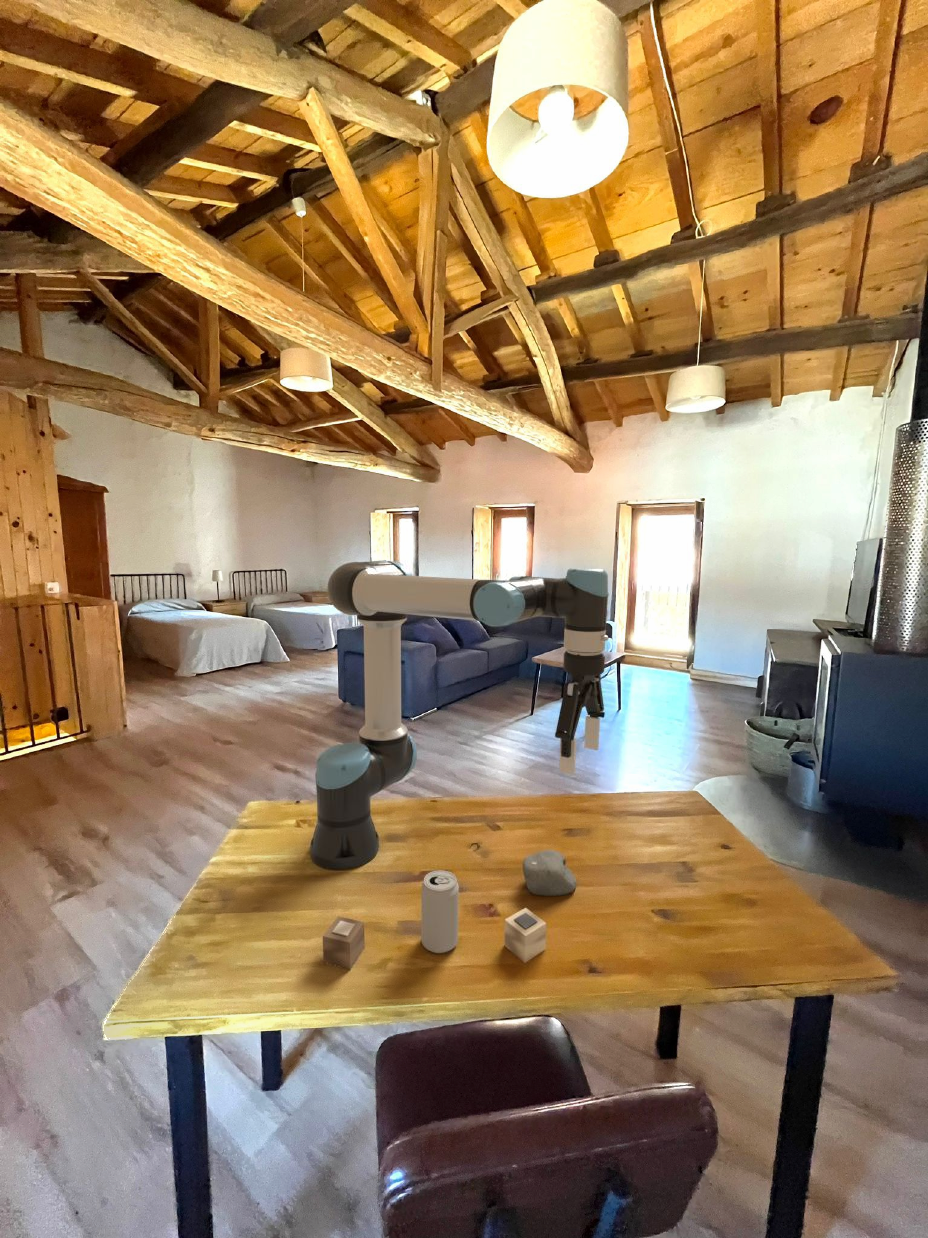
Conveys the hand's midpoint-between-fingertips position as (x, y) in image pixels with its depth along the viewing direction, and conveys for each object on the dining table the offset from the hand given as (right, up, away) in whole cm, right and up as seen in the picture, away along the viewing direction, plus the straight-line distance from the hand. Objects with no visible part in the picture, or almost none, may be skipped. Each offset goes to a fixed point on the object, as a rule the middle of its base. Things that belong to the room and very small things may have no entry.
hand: (579, 760), depth 104 cm
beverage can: (-26, -30, -9) cm, 41 cm away
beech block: (-12, -30, -10) cm, 34 cm away
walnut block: (-42, -30, -13) cm, 53 cm away
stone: (-5, -28, +6) cm, 29 cm away
